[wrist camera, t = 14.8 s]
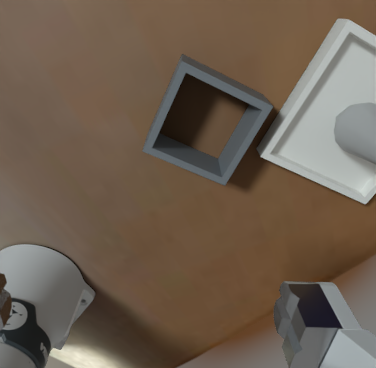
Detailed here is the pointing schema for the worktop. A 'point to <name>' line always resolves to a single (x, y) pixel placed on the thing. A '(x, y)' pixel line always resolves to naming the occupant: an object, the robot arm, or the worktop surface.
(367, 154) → the salt shaker
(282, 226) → the worktop surface
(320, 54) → the tray
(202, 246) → the worktop surface
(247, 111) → the hollow square frame
